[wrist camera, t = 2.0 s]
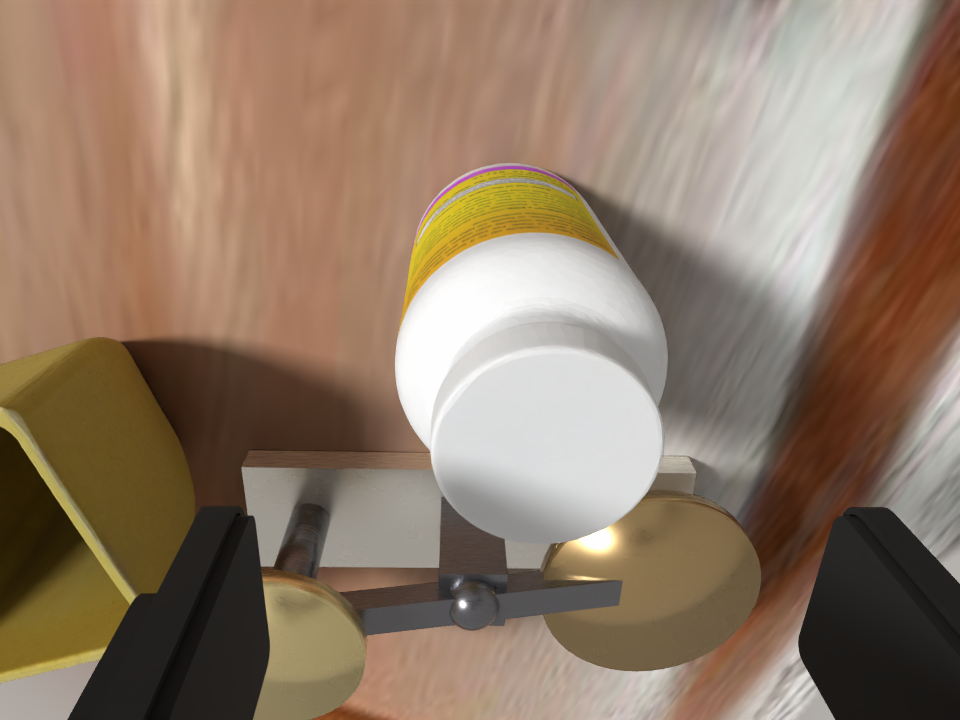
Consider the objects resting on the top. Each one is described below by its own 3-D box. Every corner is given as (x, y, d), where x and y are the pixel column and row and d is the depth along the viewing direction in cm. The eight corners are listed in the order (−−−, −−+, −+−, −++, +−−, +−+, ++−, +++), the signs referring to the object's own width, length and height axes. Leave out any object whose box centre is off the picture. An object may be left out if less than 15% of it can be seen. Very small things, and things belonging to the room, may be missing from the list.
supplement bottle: (376, 225, 25) (307, 408, 13) (539, 119, 24) (619, 221, 12) (478, 369, 28) (493, 625, 16) (631, 281, 26) (768, 492, 15)
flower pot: (248, 473, 29) (169, 649, 21) (56, 523, 30) (-91, 710, 22) (147, 279, 26) (5, 403, 18) (-69, 342, 26) (-300, 488, 18)
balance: (730, 426, 29) (823, 566, 22) (697, 576, 32) (767, 742, 25) (232, 417, 28) (153, 561, 21) (253, 573, 32) (191, 743, 24)
